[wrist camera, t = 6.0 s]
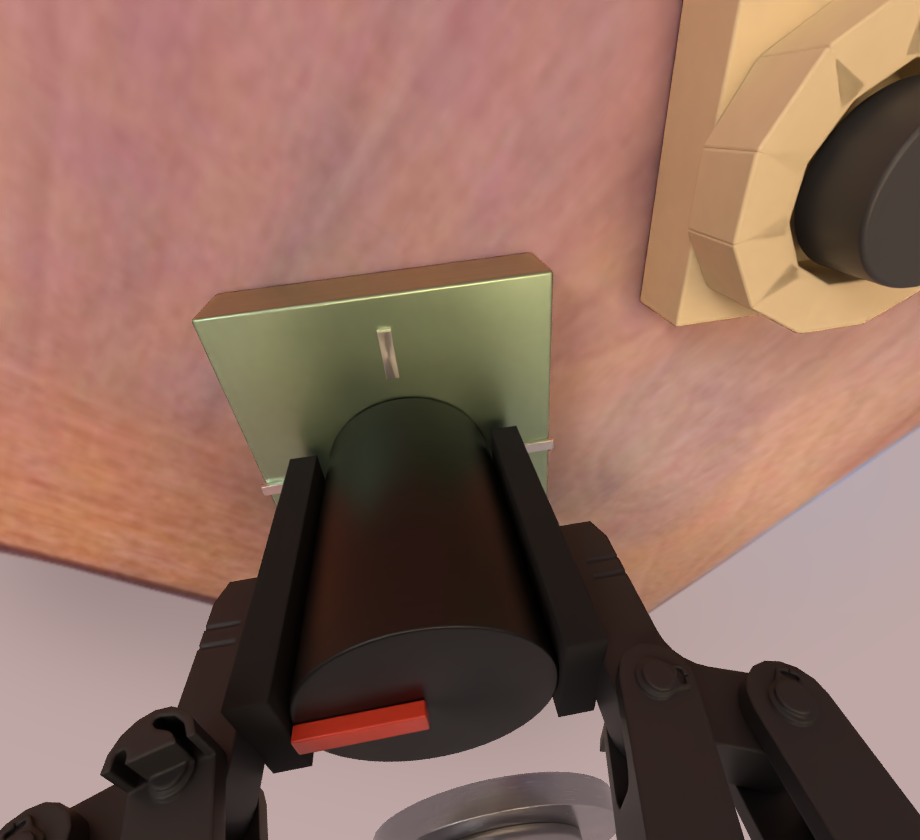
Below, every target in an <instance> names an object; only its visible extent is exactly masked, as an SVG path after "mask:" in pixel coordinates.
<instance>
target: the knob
mask: <svg viewBox="0 0 920 840" xmlns="http://www.w3.org/2000/svg"><path fill="white" fill-rule="evenodd" d="M558 680H559V669H558V665H557V662H556V659H555V656H554V653H553V650H552V646H551V643H550V640H549V637H548V634H547V631H546V628H545V624H544V621H543V618H542V615H541V612H540V609H539V606H538V602H537V599H536V596H535V593H534V590H533V587H532V584H531V580H530V577H529V574H528V571H527V568H526V565H525V562H524V558H523V555H522V552H521V549H520V546H519V543H518V540H517V536H516V533H515V530H514V527H513V524H512V521H511V518H510V514H509V511H508V508H507V505H506V502H505V499H504V496H503V492H502V489H501V486H500V483H499V480H498V477H497V474H496V470H495V467H494V464H493V461H492V458H491V455H490V452H489V448H488V445H487V442H486V439H485V437H484V435H483V433H482V431H481V430H480V429H479V427H478V426H477V425H476V423H475V422H474V421H473V420H472V419H471V418H470V417H468V416H467V415H466V414H464V413H463V412H461V411H460V410H458V409H456V408H454V407H452V406H450V405H447V404H445V403H442V402H438V401H434V400H428V399H421V398H407V399H397V400H392V401H387V402H384V403H381V404H378V405H375V406H373V407H371V408H369V409H367V410H365V411H363V412H362V413H360V414H358V415H357V416H355V417H354V418H353V419H352V420H351V421H349V422H348V423H347V424H346V425H345V426H344V428H343V429H342V430H341V431H340V432H339V434H338V435H337V437H336V439H335V441H334V443H333V445H332V448H331V451H330V455H329V461H328V467H327V473H326V479H325V486H324V492H323V498H322V504H321V510H320V516H319V523H318V529H317V535H316V541H315V547H314V553H313V560H312V566H311V572H310V578H309V584H308V590H307V596H306V603H305V609H304V615H303V621H302V627H301V633H300V640H299V646H298V652H297V658H296V664H295V670H294V677H293V683H292V689H291V695H290V701H289V716H290V720H291V723H292V725H293V729H292V736H291V744H292V746H293V747H294V748H295V750H296V751H297V752H298V754H299V755H302V754H307V753H312V752H317V751H322V750H323V751H326V752H329V753H331V754H335V755H338V756H342V757H347V758H352V759H358V760H367V761H383V762H389V761H391V762H393V761H413V760H422V759H430V758H435V757H440V756H446V755H450V754H454V753H459V752H462V751H466V750H469V749H473V748H475V747H478V746H481V745H484V744H487V743H489V742H491V741H494V740H496V739H498V738H501V737H503V736H505V735H506V734H508V733H511V732H512V731H514V730H516V729H517V728H519V727H521V726H522V725H524V724H525V723H527V722H528V721H529V720H531V719H532V718H533V717H534V716H536V715H537V714H538V713H539V712H540V711H541V710H542V709H543V708H544V707H545V706H546V705H547V704H548V702H549V701H550V700H551V698H552V697H553V695H554V693H555V690H556V688H557V685H558Z"/></svg>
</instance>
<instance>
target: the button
mask: <svg viewBox="0 0 920 840" xmlns="http://www.w3.org/2000/svg"><path fill="white" fill-rule="evenodd" d="M794 228H795V234H796V238H797V241H798V243H799V245H800V247H801V249H802V251H803V252H804V253H805V254H806V256H807V257H808V258H810V259H811V260H812V261H813V262H815V263H817V264H819V265H822V266H825V267H828V268H831V269H834V270H837V271H840V272H843V273H846V274H849V275H852V276H855V277H858V278H861V279H864V280H867V281H870V282H873V283H876V284H879V285H882V286H886V287H890V288H911V287H917V286H920V75H914V76H910V77H907V78H904V79H901V80H898V81H896V82H894V83H892V84H890V85H888V86H886V87H884V88H882V89H880V90H879V91H877V92H876V93H874V94H873V95H871V96H869V97H868V98H867V99H865V100H864V101H863V102H861V103H860V104H859V105H858V106H856V107H855V108H854V109H853V110H852V111H851V112H850V113H849V114H848V115H847V116H845V118H844V119H843V120H842V121H841V122H840V123H839V124H838V125H837V126H836V127H835V128H834V130H833V131H832V132H831V133H830V135H829V136H828V137H827V138H826V140H825V141H824V142H823V144H822V145H821V147H820V148H819V150H818V151H817V153H816V155H815V156H814V158H813V160H812V162H811V163H810V165H809V167H808V169H807V172H806V174H805V176H804V178H803V181H802V183H801V186H800V190H799V193H798V196H797V200H796V205H795V212H794Z"/></svg>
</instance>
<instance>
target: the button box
mask: <svg viewBox="0 0 920 840" xmlns="http://www.w3.org/2000/svg"><path fill="white" fill-rule="evenodd" d="M914 75H920V0H683V6H682V13H681V20H680V27H679V34H678V41H677V48H676V55H675V62H674V69H673V76H672V83H671V90H670V97H669V104H668V111H667V118H666V125H665V132H664V138H663V145H662V152H661V159H660V166H659V173H658V180H657V187H656V194H655V201H654V208H653V215H652V222H651V229H650V236H649V243H648V250H647V257H646V264H645V271H644V277H643V284H642V291H641V298H640V300H641V302H642V303H643V304H645V305H646V306H648V307H649V308H651V309H652V310H653V311H655V312H656V313H658V314H659V315H660V316H662V317H663V318H665V319H666V320H668V321H669V322H670V323H672V324H673V325H675V326H685V325H692V324H699V323H705V322H712V321H719V320H726V319H733V318H739V317H746V316H753V315H760V314H761V315H763V316H764V317H766V318H768V319H770V320H772V321H774V322H776V323H778V324H780V325H782V326H784V327H786V328H788V329H790V330H792V331H793V332H795V333H807V332H814V331H820V330H827V329H833V328H840V327H847V326H853V325H860V324H864V322H867V321H869V320H871V319H873V318H874V317H876V316H878V315H879V314H881V313H883V312H885V311H886V310H888V309H890V308H891V307H893V306H895V305H897V304H898V303H900V302H902V301H903V300H905V299H907V298H909V297H910V296H912V295H914V294H915V293H917V292H919V291H920V286H917V287H911V288H890V287H886V286H882V285H879V284H876V283H873V282H870V281H867V280H864V279H861V278H858V277H855V276H852V275H849V274H846V273H843V272H840V271H837V270H834V269H831V268H828V267H825V266H822V265H819V264H817V263H815V262H813V261H812V260H811V259H810V258H808V257H807V256H806V254H805V253H804V252H803V251H802V249H801V247H800V245H799V243H798V241H797V238H796V234H795V228H794V212H795V205H796V200H797V196H798V193H799V190H800V186H801V183H802V181H803V178H804V176H805V174H806V172H807V169H808V167H809V165H810V163H811V162H812V160H813V158H814V156H815V155H816V153H817V151H818V150H819V148H820V147H821V145H822V144H823V142H824V141H825V140H826V138H827V137H828V136H829V135H830V133H831V132H832V131H833V130H834V128H835V127H836V126H837V125H838V124H839V123H840V122H841V121H842V120H843V119H844V118H845V116H847V115H848V114H849V113H850V112H851V111H852V110H853V109H854V108H855V107H856V106H858V105H859V104H860V103H861V102H863V101H864V100H865V99H867V98H868V97H869V96H871V95H873V94H874V93H876V92H877V91H879V90H880V89H882V88H884V87H886V86H888V85H890V84H892V83H894V82H896V81H898V80H901V79H904V78H907V77H910V76H914Z"/></svg>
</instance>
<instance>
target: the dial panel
mask: <svg viewBox="0 0 920 840" xmlns="http://www.w3.org/2000/svg"><path fill="white" fill-rule="evenodd" d="M552 291H553V272H552V270H551V269H550V268H548V267H547V266H546V265H545V264H544V263H543V262H542V261H541V260H540V259H538V258H537V257H536V256H535V255H534V254H533V253H523V254H515V255H508V256H500V257H493V258H485V259H478V260H470V261H463V262H455V263H448V264H440V265H432V266H425V267H417V268H410V269H402V270H395V271H387V272H380V273H372V274H365V275H357V276H350V277H342V278H335V279H327V280H320V281H312V282H304V283H297V284H289V285H282V286H274V287H267V288H259V289H252V290H244V291H237V292H229V293H222V294H217V295H215V297H214V298H213V299H212V300H211V301H210V302H209V303H208V304H207V305H206V306H205V307H204V308H203V309H202V310H201V311H200V312H199V313H198V314H197V315H196V316H195V317H194V318H193V319H192V323H193V325H194V327H195V330H196V332H197V334H198V336H199V338H200V340H201V343H202V345H203V347H204V349H205V351H206V354H207V356H208V358H209V360H210V362H211V364H212V367H213V369H214V371H215V373H216V375H217V378H218V380H219V382H220V384H221V386H222V388H223V391H224V393H225V395H226V397H227V399H228V402H229V404H230V406H231V408H232V410H233V412H234V415H235V417H236V419H237V421H238V423H239V426H240V428H241V430H242V432H243V434H244V436H245V439H246V441H247V443H248V445H249V447H250V449H251V452H252V454H253V456H254V458H255V460H256V463H257V465H258V467H259V469H260V471H261V473H262V476H263V478H264V480H265V482H266V484H262V485H261V489H262V492H263V494H264V496H267V495H272V497H273V500H274V502H275V504H276V506H277V504H278V501H279V497H280V494H281V490H282V486H283V483H284V479H285V475H286V472H287V468H288V465H289V461H290V459H295V458H301V457H308V456H315V455H317V457H318V460H319V463H320V466H321V469H322V472H323V475H324V478H325V479H326V473H327V467H328V461H329V455H330V451H331V448H332V445H333V443H334V441H335V439H336V437H337V435H338V434H339V432H340V431H341V430H342V429H343V428H344V426H345V425H346V424H347V423H348V422H349V421H351V420H352V419H353V418H354V417H355V416H357V415H358V414H360V413H362V412H363V411H365V410H367V409H369V408H371V407H373V406H375V405H378V404H381V403H384V402H387V401H392V400H397V399H407V398H421V399H428V400H434V401H438V402H442V403H445V404H447V405H450V406H452V407H454V408H456V409H458V410H460V411H461V412H463V413H464V414H466V415H467V416H468V417H470V418H471V419H472V420H473V421H474V422H475V423H476V425H477V426H478V427H479V429H480V430H481V431H482V433H483V435H484V437H485V439H486V442H487V445H488V448H489V452H490V455H491V458H492V440H491V429H497V428H503V427H510V426H517V428H518V431H519V433H520V435H521V438H522V440H523V442H524V445H525V447H526V449H527V452H528V454H529V456H530V459H531V461H532V463H533V466H534V468H535V470H536V473H537V475H538V477H539V480H540V482H541V484H542V487H543V489H544V491H545V494H546V496H547V469H548V450H549V449H553V443H554V440H553V438H548V433H549V398H550V362H551V326H552ZM492 461H493V460H492Z"/></svg>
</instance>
